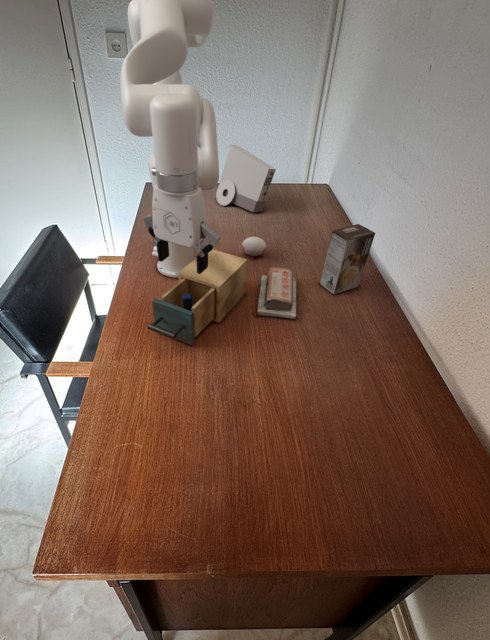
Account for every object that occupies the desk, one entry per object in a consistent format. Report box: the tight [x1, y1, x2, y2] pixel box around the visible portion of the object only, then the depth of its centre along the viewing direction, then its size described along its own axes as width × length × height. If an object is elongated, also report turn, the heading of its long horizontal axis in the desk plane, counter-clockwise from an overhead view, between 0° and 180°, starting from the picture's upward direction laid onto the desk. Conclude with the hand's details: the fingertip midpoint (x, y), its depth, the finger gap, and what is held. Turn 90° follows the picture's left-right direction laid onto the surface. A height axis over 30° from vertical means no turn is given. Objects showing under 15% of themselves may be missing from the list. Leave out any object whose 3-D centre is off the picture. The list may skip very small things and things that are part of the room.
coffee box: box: [319, 223, 376, 295], centre depth 100 cm, size 9×6×16 cm
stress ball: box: [241, 236, 267, 260], centre depth 117 cm, size 8×8×7 cm
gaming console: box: [215, 144, 277, 213], centre depth 138 cm, size 23×8×20 cm, turn 43°
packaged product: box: [256, 266, 297, 320], centre depth 99 cm, size 18×5×10 cm
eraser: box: [183, 294, 192, 311], centre depth 89 cm, size 2×2×7 cm
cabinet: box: [177, 249, 248, 324], centre depth 96 cm, size 15×12×11 cm
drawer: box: [147, 278, 217, 346], centre depth 87 cm, size 18×10×9 cm, turn 150°
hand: (182, 264), depth 79 cm, fingers open, 9 cm apart
